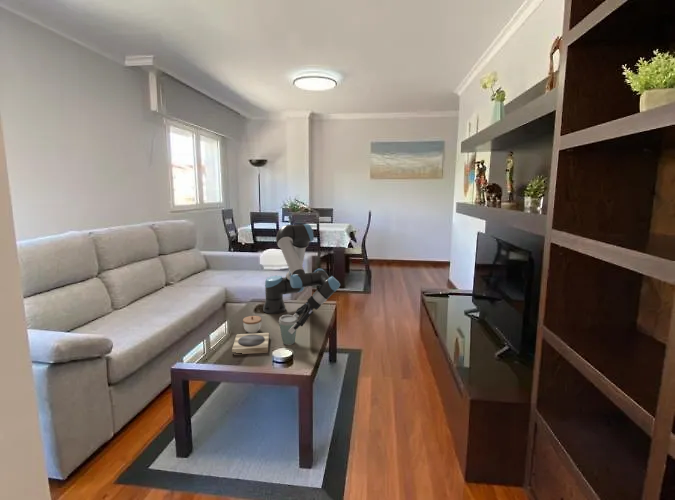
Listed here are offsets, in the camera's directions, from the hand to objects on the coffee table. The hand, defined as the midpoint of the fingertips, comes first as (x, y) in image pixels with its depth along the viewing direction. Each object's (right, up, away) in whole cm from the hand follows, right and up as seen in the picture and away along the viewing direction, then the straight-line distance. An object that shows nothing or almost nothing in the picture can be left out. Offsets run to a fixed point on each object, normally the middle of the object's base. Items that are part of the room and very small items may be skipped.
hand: (289, 327), depth 197 cm
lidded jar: (-24, -6, +17) cm, 30 cm away
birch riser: (-20, -10, -1) cm, 23 cm away
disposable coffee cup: (-1, -9, +2) cm, 10 cm away
